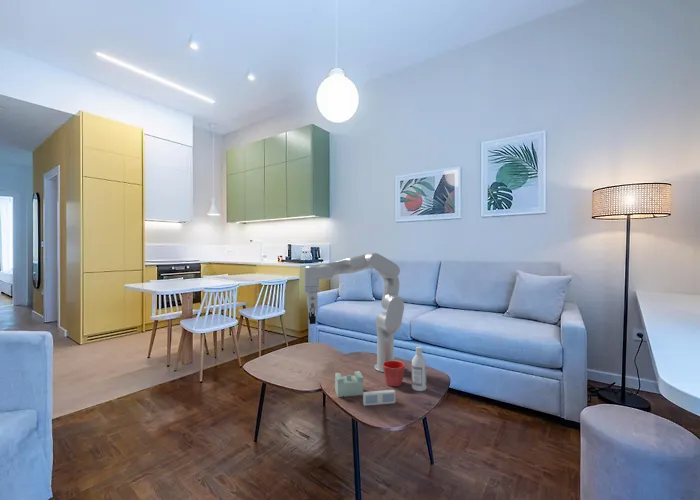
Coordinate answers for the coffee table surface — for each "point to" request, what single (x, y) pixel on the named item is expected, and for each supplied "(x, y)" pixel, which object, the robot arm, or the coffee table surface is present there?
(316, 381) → the coffee table surface
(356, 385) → the notched toy brick
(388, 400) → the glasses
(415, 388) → the bath foam
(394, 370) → the flower pot
